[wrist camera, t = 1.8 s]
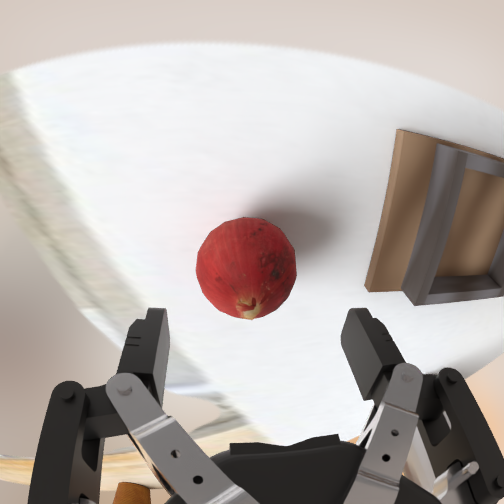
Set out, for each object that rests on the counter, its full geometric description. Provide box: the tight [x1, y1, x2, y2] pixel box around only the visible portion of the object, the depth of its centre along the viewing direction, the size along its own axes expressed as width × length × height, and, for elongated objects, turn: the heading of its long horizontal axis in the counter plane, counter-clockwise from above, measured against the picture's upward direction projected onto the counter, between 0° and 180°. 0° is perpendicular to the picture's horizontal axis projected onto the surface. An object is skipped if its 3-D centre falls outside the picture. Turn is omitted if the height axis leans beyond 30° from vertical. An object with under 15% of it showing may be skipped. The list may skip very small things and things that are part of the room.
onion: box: [196, 217, 297, 320], centre depth 18 cm, size 6×6×8 cm
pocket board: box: [364, 129, 504, 306], centre depth 21 cm, size 18×13×4 cm
